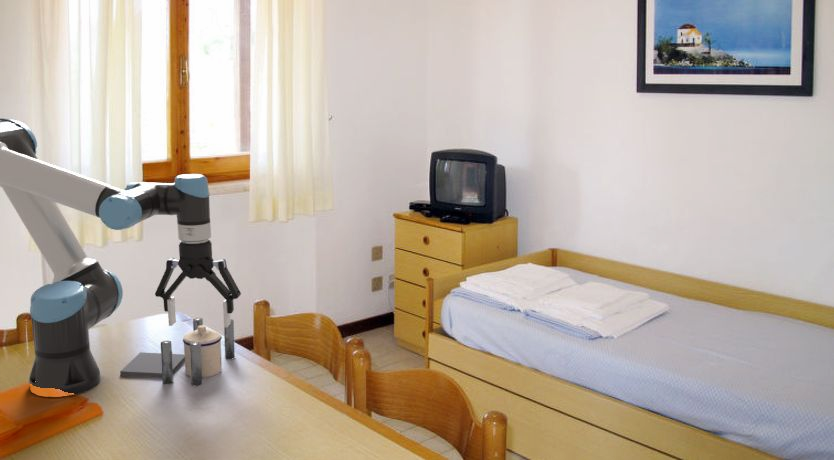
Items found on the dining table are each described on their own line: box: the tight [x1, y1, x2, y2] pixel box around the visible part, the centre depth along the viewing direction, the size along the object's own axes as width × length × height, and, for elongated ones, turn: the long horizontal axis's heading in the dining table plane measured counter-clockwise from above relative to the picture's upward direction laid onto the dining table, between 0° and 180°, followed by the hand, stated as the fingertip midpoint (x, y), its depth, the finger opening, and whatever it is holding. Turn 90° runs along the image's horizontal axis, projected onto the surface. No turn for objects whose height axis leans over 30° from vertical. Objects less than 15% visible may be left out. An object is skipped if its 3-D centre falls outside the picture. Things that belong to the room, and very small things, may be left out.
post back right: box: [223, 318, 236, 360], centre depth 200 cm, size 2×2×10 cm
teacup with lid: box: [182, 324, 223, 379], centre depth 192 cm, size 12×9×12 cm
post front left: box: [160, 340, 174, 385], centre depth 185 cm, size 2×2×10 cm
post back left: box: [192, 317, 204, 331], centre depth 201 cm, size 2×2×10 cm
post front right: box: [190, 342, 203, 387], centre depth 185 cm, size 2×2×10 cm
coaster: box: [119, 351, 185, 379], centre depth 194 cm, size 12×12×1 cm
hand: (199, 324), depth 191 cm, fingers open, 13 cm apart
